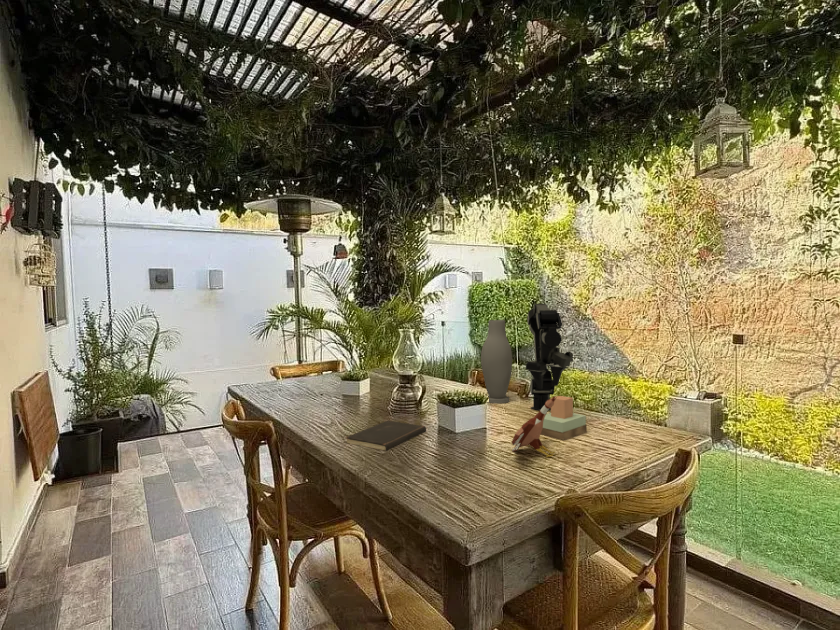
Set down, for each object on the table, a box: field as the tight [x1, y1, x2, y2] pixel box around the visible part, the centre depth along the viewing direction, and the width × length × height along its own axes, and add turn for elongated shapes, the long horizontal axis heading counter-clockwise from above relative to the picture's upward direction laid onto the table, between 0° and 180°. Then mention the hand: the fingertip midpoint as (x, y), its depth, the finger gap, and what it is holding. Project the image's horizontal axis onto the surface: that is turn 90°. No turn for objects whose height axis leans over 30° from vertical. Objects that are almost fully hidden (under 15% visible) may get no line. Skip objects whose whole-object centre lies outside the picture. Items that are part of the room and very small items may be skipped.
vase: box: [480, 319, 513, 404], centre depth 201 cm, size 13×13×35 cm
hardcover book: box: [344, 420, 427, 452], centre depth 153 cm, size 16×23×2 cm
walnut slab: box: [540, 424, 588, 441], centre depth 153 cm, size 13×10×3 cm
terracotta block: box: [550, 395, 574, 419], centre depth 153 cm, size 5×5×6 cm
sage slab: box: [543, 412, 587, 432], centre depth 153 cm, size 13×10×3 cm
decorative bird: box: [511, 395, 557, 458], centre depth 133 cm, size 28×18×15 cm, turn 151°
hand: (548, 387), depth 168 cm, fingers open, 9 cm apart
